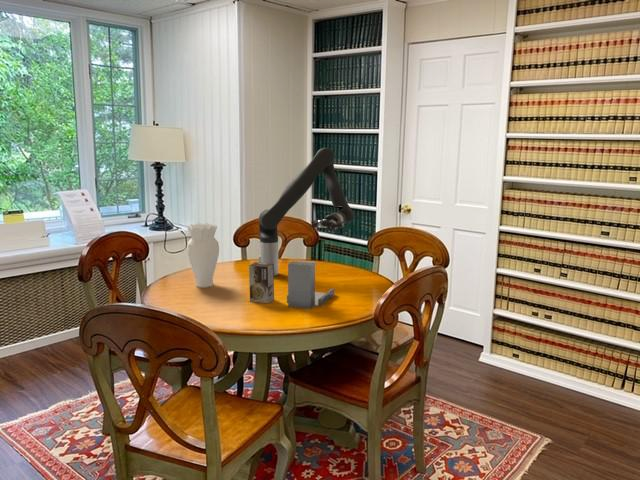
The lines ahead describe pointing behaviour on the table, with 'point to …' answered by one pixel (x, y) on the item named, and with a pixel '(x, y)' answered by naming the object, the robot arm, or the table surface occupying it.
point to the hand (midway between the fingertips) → (322, 226)
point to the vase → (203, 252)
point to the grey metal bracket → (304, 286)
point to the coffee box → (261, 282)
